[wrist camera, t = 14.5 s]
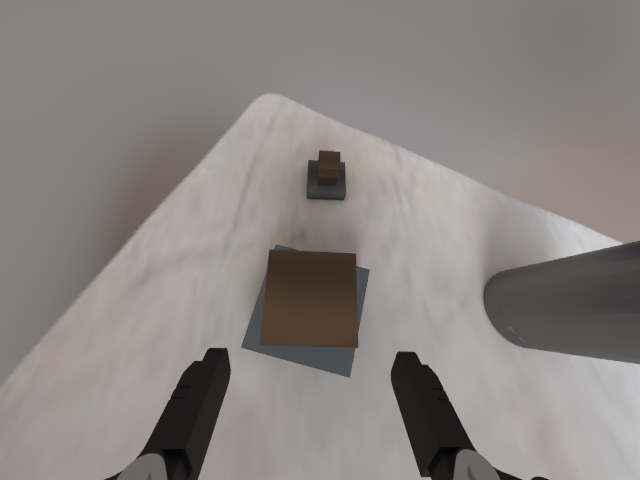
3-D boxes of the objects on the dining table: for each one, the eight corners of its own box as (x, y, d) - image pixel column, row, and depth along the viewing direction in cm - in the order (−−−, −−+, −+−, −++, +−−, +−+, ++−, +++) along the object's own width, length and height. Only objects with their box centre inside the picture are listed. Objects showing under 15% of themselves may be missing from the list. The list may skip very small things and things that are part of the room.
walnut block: (333, 335, 21) (358, 347, 12) (279, 334, 21) (259, 345, 11) (333, 281, 23) (355, 253, 13) (283, 279, 22) (269, 249, 13)
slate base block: (340, 366, 25) (349, 377, 20) (252, 341, 25) (240, 347, 20) (358, 277, 28) (369, 269, 23) (280, 256, 28) (276, 244, 24)
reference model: (343, 200, 31) (351, 179, 26) (306, 198, 31) (307, 176, 26) (343, 169, 33) (350, 144, 28) (308, 167, 32) (309, 141, 27)
